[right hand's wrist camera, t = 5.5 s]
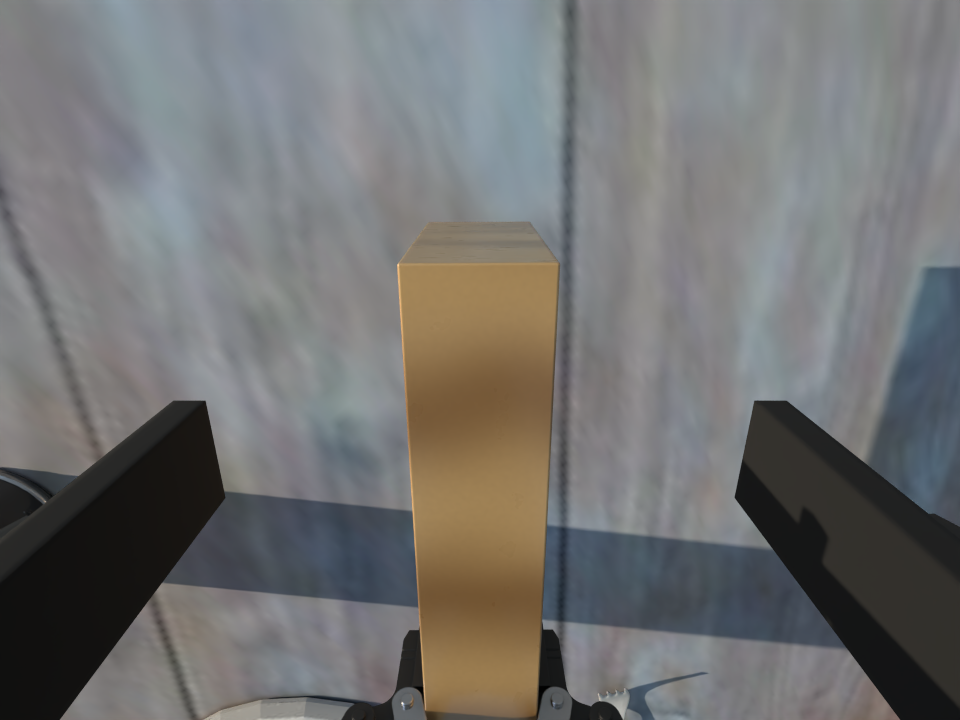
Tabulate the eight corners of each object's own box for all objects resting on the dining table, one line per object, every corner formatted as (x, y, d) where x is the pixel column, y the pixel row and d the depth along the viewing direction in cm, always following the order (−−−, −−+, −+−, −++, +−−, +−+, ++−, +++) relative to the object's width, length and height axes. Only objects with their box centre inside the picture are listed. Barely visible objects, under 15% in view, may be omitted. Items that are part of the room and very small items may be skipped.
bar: (427, 222, 23) (396, 263, 14) (530, 221, 23) (560, 262, 14) (443, 621, 31) (429, 798, 23) (518, 621, 31) (533, 797, 23)
